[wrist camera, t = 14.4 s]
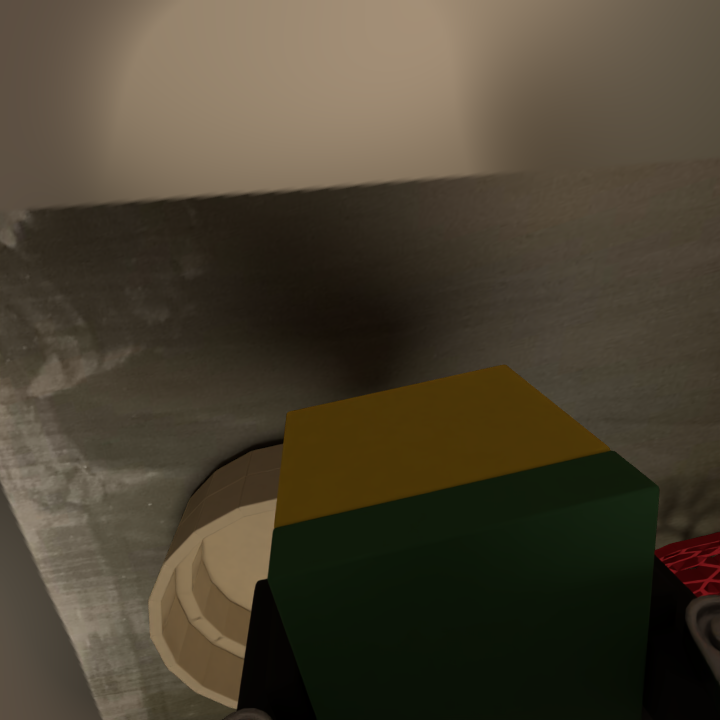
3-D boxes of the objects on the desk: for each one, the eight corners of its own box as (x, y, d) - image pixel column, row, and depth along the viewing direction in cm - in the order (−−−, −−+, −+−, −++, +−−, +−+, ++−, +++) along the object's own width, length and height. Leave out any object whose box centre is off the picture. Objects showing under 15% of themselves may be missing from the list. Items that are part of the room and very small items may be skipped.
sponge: (285, 410, 9) (265, 580, 5) (505, 363, 9) (661, 486, 5) (354, 656, 12) (378, 896, 8) (522, 615, 12) (634, 828, 8)
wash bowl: (142, 469, 24) (98, 540, 19) (401, 411, 25) (425, 464, 20) (222, 648, 30) (204, 741, 24) (433, 597, 30) (458, 676, 25)
